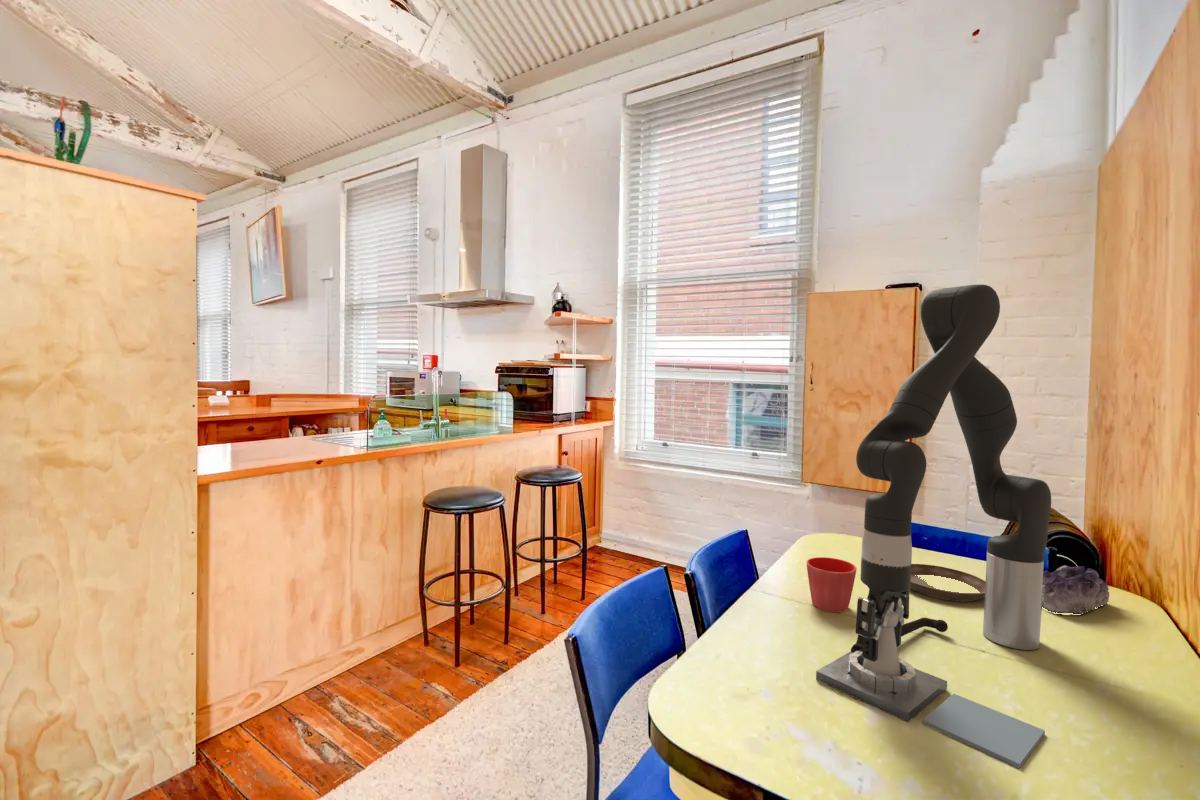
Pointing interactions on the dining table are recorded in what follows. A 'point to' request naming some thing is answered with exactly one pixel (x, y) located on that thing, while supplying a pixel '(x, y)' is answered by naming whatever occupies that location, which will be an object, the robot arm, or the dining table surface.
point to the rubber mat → (985, 729)
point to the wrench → (908, 630)
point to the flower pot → (831, 583)
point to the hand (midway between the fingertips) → (881, 651)
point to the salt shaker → (886, 650)
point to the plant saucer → (934, 570)
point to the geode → (1073, 590)
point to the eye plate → (883, 685)
